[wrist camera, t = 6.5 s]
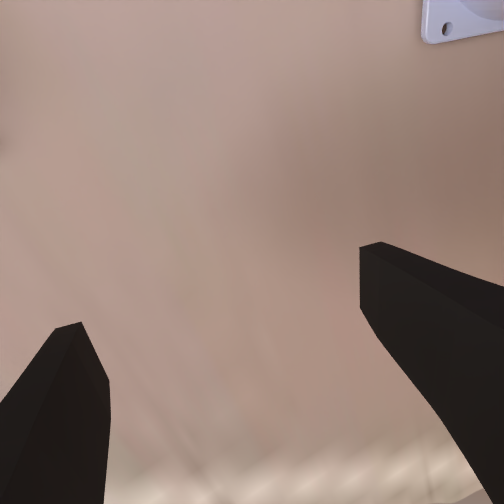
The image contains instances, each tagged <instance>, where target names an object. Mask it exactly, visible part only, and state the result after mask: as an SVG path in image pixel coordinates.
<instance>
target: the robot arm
mask: <svg viewBox="0 0 504 504" xmlns="http://www.w3.org/2000/svg"><path fill="white" fill-rule="evenodd" d="M445 23H446V24H447V29H446V32H445V33H444V34H442V27H443V25H444V24H445ZM503 30H504V0H423V10H422V26H421V37H422V39H423V41H424V42H425V43H427V44H438V43H443V42H448V41H453V40H458V39H463V38H468V37H473V36H478V35H483V34H488V33H493V32H498V31H503ZM359 249H360V309H361V310H362V312H363V314H364V316H365V317H366V319H367V321H368V323H369V325H370V326H371V328H372V329H373V331H374V333H375V334H376V336H377V338H378V339H379V340H380V342H381V343H382V344H383V346H384V347H385V348H386V350H387V351H388V352H389V353H390V355H391V356H392V357H393V359H394V360H395V361H396V362H397V364H398V365H399V366H400V367H401V369H402V370H403V371H404V372H405V374H406V375H407V376H408V378H409V379H410V380H411V381H412V383H413V384H414V385H415V386H416V388H417V389H418V390H419V391H420V393H421V394H422V395H423V396H424V398H425V399H426V400H427V402H428V403H429V404H430V405H431V407H432V408H433V409H434V411H435V412H436V414H437V415H438V416H439V418H440V419H441V421H442V422H443V424H444V425H445V427H446V428H447V430H448V431H449V433H450V434H451V436H452V438H453V439H454V441H455V442H456V444H457V445H458V447H459V449H460V450H461V452H462V453H463V455H464V456H465V458H466V460H467V461H468V463H469V465H470V466H471V468H472V469H473V471H474V473H475V474H476V476H477V478H478V479H479V481H480V483H481V484H482V486H483V488H484V489H485V491H486V492H487V494H488V496H489V498H490V499H491V501H492V503H493V504H504V287H503V286H500V285H497V284H494V283H491V282H488V281H485V280H482V279H479V278H476V277H473V276H471V275H468V274H465V273H462V272H459V271H457V270H454V269H451V268H449V267H446V266H444V265H441V264H439V263H436V262H433V261H431V260H428V259H426V258H423V257H421V256H418V255H416V254H413V253H411V252H408V251H406V250H403V249H401V248H398V247H395V246H393V245H390V244H387V243H384V242H377V243H374V244H370V245H366V246H362V247H359ZM110 424H111V407H110V386H109V379H108V377H107V375H106V373H105V370H104V368H103V366H102V364H101V362H100V360H99V358H98V356H97V354H96V352H95V349H94V347H93V345H92V343H91V341H90V339H89V337H88V335H87V333H86V330H85V328H84V326H83V324H82V322H78V323H75V324H71V325H67V326H63V327H60V328H56V329H55V330H54V331H53V332H52V333H51V335H50V336H49V337H48V339H47V340H46V341H45V343H44V344H43V346H42V347H41V348H40V350H39V351H38V353H37V354H36V355H35V357H34V358H33V359H32V361H31V362H30V364H29V365H28V366H27V368H26V369H25V371H24V372H23V373H22V375H21V376H20V377H19V379H18V380H17V381H16V383H15V384H14V385H13V387H12V388H11V389H10V391H9V392H8V393H7V395H6V396H5V397H4V399H3V400H2V401H1V403H0V504H103V503H104V492H105V481H106V470H107V460H108V448H109V437H110Z"/></svg>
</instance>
